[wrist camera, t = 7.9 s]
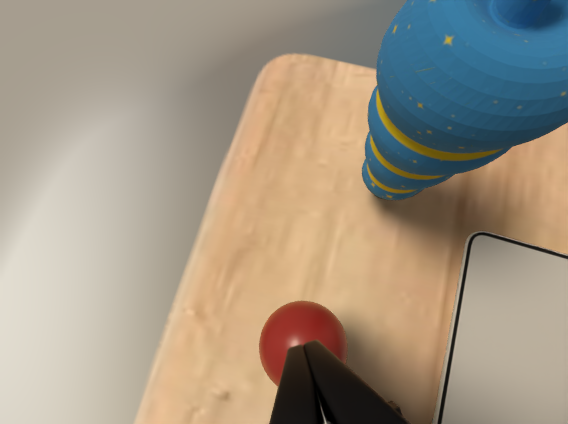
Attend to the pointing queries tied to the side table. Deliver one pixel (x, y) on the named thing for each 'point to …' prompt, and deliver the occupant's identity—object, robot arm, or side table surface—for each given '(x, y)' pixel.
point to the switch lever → (299, 334)
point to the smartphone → (507, 336)
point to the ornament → (463, 88)
